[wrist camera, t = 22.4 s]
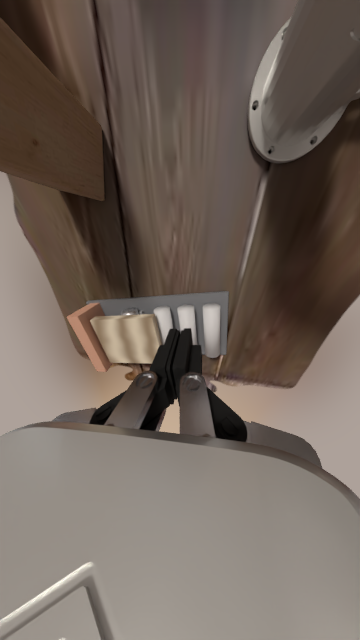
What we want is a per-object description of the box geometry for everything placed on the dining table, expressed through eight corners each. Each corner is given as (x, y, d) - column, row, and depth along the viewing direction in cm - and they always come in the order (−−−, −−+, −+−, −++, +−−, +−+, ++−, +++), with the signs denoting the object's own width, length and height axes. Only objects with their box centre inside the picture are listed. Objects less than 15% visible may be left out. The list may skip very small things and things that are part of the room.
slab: (154, 313, 34) (152, 317, 32) (165, 358, 41) (163, 363, 39) (95, 316, 37) (89, 320, 35) (113, 357, 44) (110, 362, 42)
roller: (138, 306, 39) (134, 313, 35) (150, 347, 46) (147, 356, 42) (124, 308, 39) (119, 315, 36) (137, 348, 46) (134, 357, 42)
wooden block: (106, 202, 29) (-39, 151, 12) (58, 190, 29) (-155, 121, 12) (103, 126, 24) (-163, -165, 7) (45, 111, 24) (-365, -211, 7)
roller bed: (228, 291, 34) (234, 306, 26) (225, 352, 43) (230, 377, 35) (88, 300, 41) (61, 315, 33) (111, 352, 50) (95, 372, 43)
